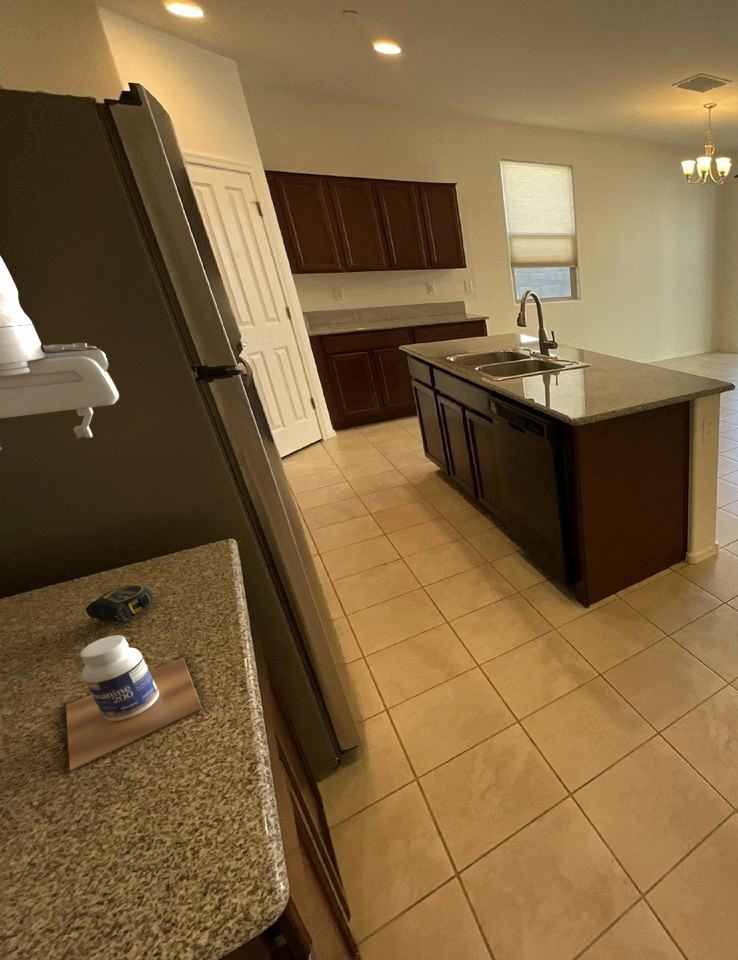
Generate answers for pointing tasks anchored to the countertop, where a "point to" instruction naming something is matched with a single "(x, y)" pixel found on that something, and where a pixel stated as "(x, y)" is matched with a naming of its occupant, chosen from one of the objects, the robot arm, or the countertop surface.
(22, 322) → the robot arm
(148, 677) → the pill bottle
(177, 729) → the countertop surface
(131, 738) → the wooden board
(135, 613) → the tape measure
